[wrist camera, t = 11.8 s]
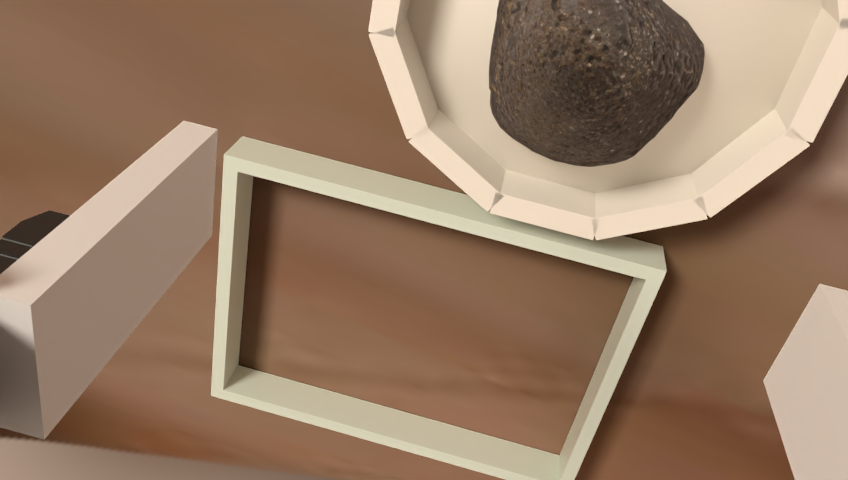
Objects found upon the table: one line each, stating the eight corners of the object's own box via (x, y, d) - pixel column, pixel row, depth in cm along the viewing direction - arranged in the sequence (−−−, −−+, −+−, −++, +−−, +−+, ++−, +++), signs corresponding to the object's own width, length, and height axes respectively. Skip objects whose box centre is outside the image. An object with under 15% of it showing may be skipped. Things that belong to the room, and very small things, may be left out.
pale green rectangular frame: (226, 370, 51) (210, 395, 49) (242, 136, 42) (223, 154, 40) (567, 466, 50) (566, 496, 48) (662, 246, 41) (666, 271, 38)
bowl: (363, 147, 41) (346, 175, 38) (436, -300, 30) (420, -310, 27) (731, 243, 40) (742, 279, 37) (940, -188, 29) (980, -185, 26)
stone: (640, 117, 40) (790, 61, 31) (531, 214, 38) (659, 185, 28) (532, -40, 39) (656, -149, 29) (411, 50, 36) (505, -39, 27)
